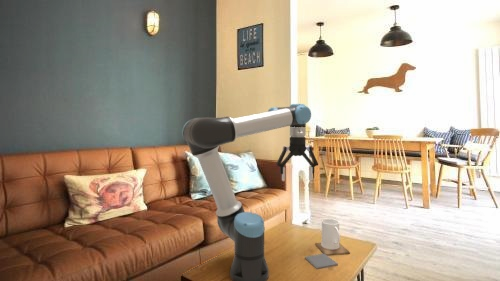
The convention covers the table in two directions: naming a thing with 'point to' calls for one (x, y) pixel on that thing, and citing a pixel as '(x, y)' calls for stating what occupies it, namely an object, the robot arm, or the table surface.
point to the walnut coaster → (333, 252)
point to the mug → (330, 234)
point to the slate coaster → (321, 261)
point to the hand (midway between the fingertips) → (297, 180)
